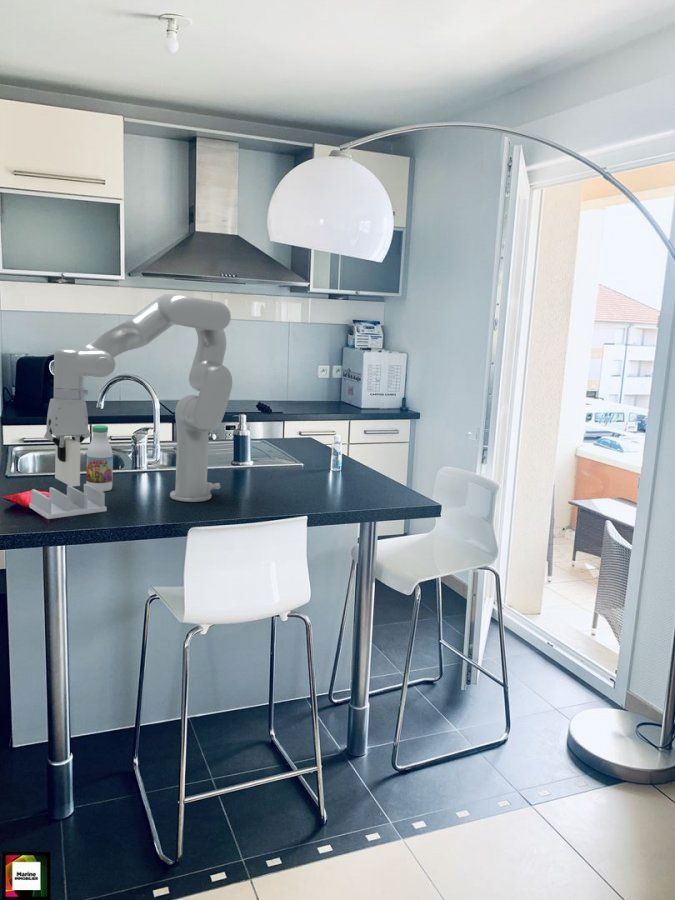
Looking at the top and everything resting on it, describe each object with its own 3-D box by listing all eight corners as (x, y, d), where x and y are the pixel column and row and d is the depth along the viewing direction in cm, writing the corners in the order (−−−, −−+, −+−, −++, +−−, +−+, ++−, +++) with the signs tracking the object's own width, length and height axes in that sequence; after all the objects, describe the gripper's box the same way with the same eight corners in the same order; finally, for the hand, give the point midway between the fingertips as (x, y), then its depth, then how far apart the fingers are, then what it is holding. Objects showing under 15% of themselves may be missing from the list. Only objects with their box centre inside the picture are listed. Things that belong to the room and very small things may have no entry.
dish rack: (86, 500, 219) (86, 483, 218) (106, 511, 209) (106, 493, 208) (29, 507, 207) (29, 489, 206) (47, 519, 198) (47, 500, 197)
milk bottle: (85, 486, 234) (86, 423, 230) (111, 486, 237) (112, 424, 233) (86, 492, 227) (87, 428, 223) (113, 492, 230) (114, 428, 226)
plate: (63, 477, 211) (64, 435, 209) (79, 485, 204) (80, 442, 201) (55, 478, 210) (55, 436, 208) (71, 486, 202) (71, 443, 200)
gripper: (90, 392, 210) (89, 456, 214) (33, 392, 200) (33, 460, 203) (102, 395, 205) (101, 461, 208) (44, 396, 194) (43, 465, 197)
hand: (67, 460), depth 206 cm, fingers closed on plate, 2 cm apart
